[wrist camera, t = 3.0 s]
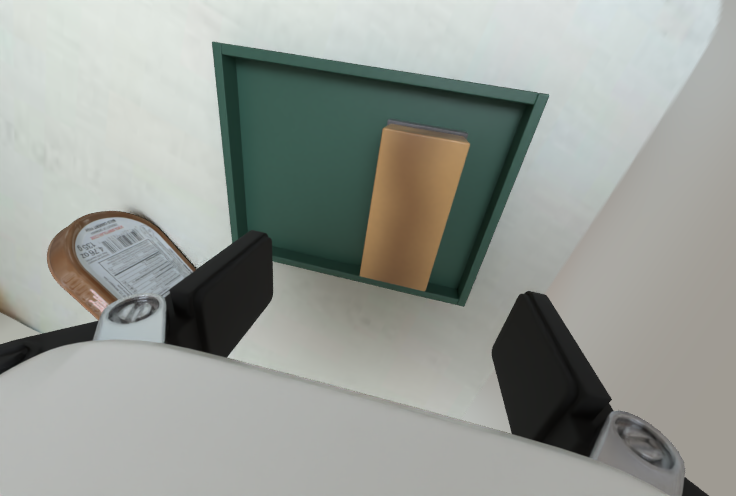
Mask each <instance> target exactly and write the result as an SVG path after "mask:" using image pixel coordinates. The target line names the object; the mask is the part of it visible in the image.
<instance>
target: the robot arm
mask: <svg viewBox="0 0 736 496" xmlns="http://www.w3.org/2000/svg"><path fill="white" fill-rule="evenodd" d="M169 291H170V294H168V295H167V296H166V297H164V298H163V297H162V296H161V295H158V294H155V293H139V294H134V295H129V296H126V297H124V298H121V299H118V300H117V301H115V302H113V303H111V304H110V305H109V306H107V307H106V308H105V309H104V310H103V312H102V314H101V315H100V318H99V321H95V322H91V323H87V324H82V325H78V326H74V327H69V328H65V329H61V330H56V331H52V332H48V333H43V334H40V335H35V336H30V337H26V338H22V339H18V340H14V341H10V342H7V343H4V344H0V496H709V495H707V494H706V493H705V492H703V491H702V490H701V489H699V488H698V487H697V486H696V485H694V484H693V483H692V482H690V481H689V480H688V479H687V478H685V477H684V475H685V467H684V461H683V459H682V458H681V456H680V454H679V452H678V451H677V449H676V448H675V447H674V445H673V444H672V443H671V442H670V441H669V440H668V439H667V438H666V437H665V436H664V435H663V434H662V433H661V432H660V431H659V430H657V429H656V428H654V427H653V426H652V425H651V424H649V423H648V422H646V421H645V420H643V419H641V418H639V417H638V416H635V415H633V414H630V413H628V412H623V411H613V409H612V408H611V406H610V404H609V402H610V401H611V400H612V399H611V397H610V396H609V394H608V393H607V391H606V389H605V388H604V386H603V385H602V383H601V382H600V380H599V378H598V377H597V375H596V373H595V372H594V370H593V369H592V367H591V365H590V364H589V362H588V361H587V359H586V358H585V356H584V354H583V353H582V351H581V349H580V348H579V346H578V345H577V343H576V341H575V340H574V338H573V337H572V335H571V333H570V332H569V330H568V329H567V327H566V326H565V324H564V322H563V321H562V319H561V317H560V316H559V314H558V313H557V311H556V309H555V308H554V306H553V305H552V303H551V301H550V300H549V298H548V297H547V296H546V295H544V294H540V293H535V292H531V291H527V292H526V293H525V294H520V295H519V296H518V298H517V300H516V302H515V304H514V306H513V308H512V310H511V312H510V314H509V316H508V318H507V320H506V322H505V324H504V326H503V327H502V329H501V331H500V333H499V335H498V337H497V339H496V341H495V343H494V345H493V348H492V359H493V362H494V366H495V370H496V374H497V378H498V382H499V386H500V389H501V393H502V397H503V401H504V405H505V409H506V413H507V416H508V420H509V424H510V428H511V432H512V434H510V433H507V432H503V431H500V430H496V429H492V428H489V427H485V426H481V425H477V424H474V423H470V422H467V421H463V420H459V419H456V418H452V417H448V416H445V415H441V414H437V413H434V412H430V411H426V410H423V409H419V408H415V407H412V406H408V405H404V404H401V403H397V402H393V401H389V400H386V399H382V398H378V397H375V396H371V395H367V394H363V393H360V392H356V391H352V390H348V389H345V388H341V387H337V386H333V385H330V384H326V383H322V382H318V381H315V380H311V379H307V378H303V377H299V376H295V375H292V374H288V373H284V372H280V371H276V370H272V369H269V368H265V367H261V366H257V365H253V364H250V363H246V362H242V361H238V360H234V359H230V358H227V357H228V355H229V354H230V353H231V352H232V350H233V349H234V348H235V346H236V345H237V344H238V343H239V341H240V340H241V339H242V337H243V336H244V335H245V334H246V332H247V331H248V330H249V329H250V327H251V326H252V325H253V323H254V322H255V321H256V320H257V318H258V317H259V316H260V314H261V313H262V312H263V311H264V309H265V308H266V307H267V306H268V304H269V303H270V301H271V300H272V297H273V262H272V239H271V238H269V237H268V234H267V233H264V232H259V231H255V230H250V231H249V232H247V233H246V234H245V235H243V236H242V237H241V238H239V239H238V240H236V241H235V242H234V243H232V244H231V245H230V246H228V247H227V248H225V249H224V250H223V251H221V252H220V253H219V254H217V255H216V256H214V257H213V258H212V259H210V260H209V261H208V262H206V263H205V264H203V265H202V266H201V267H199V268H198V269H197V270H195V271H194V272H192V273H191V274H190V275H188V276H187V277H185V278H184V279H183V280H181V281H180V282H179V283H177V284H176V285H174V286H173V287H172V288H170V289H169Z"/></svg>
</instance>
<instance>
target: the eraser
mask: <svg viewBox="0 0 736 496" xmlns="http://www.w3.org/2000/svg"><path fill="white" fill-rule="evenodd" d="M467 137H468V133H467V132H466V131H462V130H456V129H451V128H445V127H439V126H433V125H428V124H422V123H416V122H411V121H405V120H399V119H393V118H390V119H388V121H387V126H386V127H384V128H383V130H382V136H381V142H380V149H379V155H378V161H377V168H376V174H375V180H374V187H373V193H372V199H371V206H370V212H369V218H368V225H367V231H366V237H365V244H364V250H363V256H362V263H361V269H360V276H361V277H365V278H370V279H374V280H378V281H382V282H387V283H391V284H395V285H399V286H404V287H408V288H412V289H416V290H421V291H426V288H427V284H428V281H429V278H430V275H431V271H432V268H433V265H434V262H435V258H436V255H437V252H438V248H439V245H440V242H441V239H442V235H443V232H444V229H445V226H446V222H447V219H448V216H449V213H450V209H451V206H452V203H453V199H454V196H455V193H456V190H457V186H458V183H459V180H460V177H461V173H462V170H463V167H464V163H465V160H466V157H467V154H468V150H469V147H470V143H469V142H468V141H467Z"/></svg>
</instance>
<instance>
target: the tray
mask: <svg viewBox="0 0 736 496" xmlns="http://www.w3.org/2000/svg"><path fill="white" fill-rule="evenodd" d="M212 47H213V57H214V67H215V77H216V87H217V96H218V106H219V116H220V126H221V136H222V146H223V155H224V165H225V175H226V185H227V195H228V205H229V215H230V224H231V234H232V243H234V242H235V241H236V240H238V239H239V238H241V237H242V236H243V235H245V234H246V233H247V232H249V231H250V230H255V231H259V232H264V233H267V234H268V237H269V238H271V239H272V261H274V262H278V263H282V264H286V265H291V266H295V267H299V268H303V269H307V270H312V271H316V272H320V273H324V274H328V275H333V276H337V277H341V278H345V279H350V280H354V281H358V282H362V283H366V284H371V285H375V286H379V287H383V288H387V289H392V290H396V291H400V292H404V293H408V294H413V295H417V296H421V297H425V298H429V299H434V300H438V301H442V302H446V303H450V304H455V305H459V306H463V307H464V306H465V304H466V301H467V299H468V296H469V294H470V291H471V289H472V286H473V284H474V281H475V279H476V276H477V274H478V271H479V269H480V266H481V264H482V261H483V259H484V256H485V254H486V251H487V249H488V247H489V244H490V242H491V239H492V237H493V234H494V232H495V229H496V227H497V224H498V222H499V219H500V217H501V214H502V212H503V209H504V207H505V204H506V202H507V199H508V197H509V194H510V192H511V190H512V187H513V185H514V182H515V180H516V177H517V175H518V172H519V170H520V167H521V165H522V162H523V160H524V157H525V155H526V152H527V150H528V147H529V145H530V142H531V140H532V137H533V135H534V133H535V130H536V128H537V125H538V123H539V120H540V118H541V115H542V113H543V110H544V108H545V105H546V103H547V100H548V98H549V94H543V93H537V92H530V91H524V90H517V89H511V88H505V87H498V86H492V85H486V84H479V83H473V82H466V81H460V80H454V79H447V78H441V77H435V76H428V75H422V74H416V73H409V72H403V71H396V70H390V69H384V68H377V67H371V66H365V65H358V64H352V63H345V62H339V61H333V60H326V59H320V58H314V57H307V56H301V55H295V54H288V53H282V52H275V51H269V50H263V49H256V48H250V47H244V46H237V45H231V44H224V43H218V42H212ZM390 118H393V119H399V120H405V121H411V122H416V123H422V124H428V125H433V126H439V127H445V128H451V129H456V130H462V131H466V132H467V133H468V137H467V141H468V142H469V143H470V147H469V150H468V154H467V157H466V160H465V163H464V167H463V170H462V173H461V177H460V180H459V183H458V186H457V190H456V193H455V196H454V199H453V203H452V206H451V209H450V213H449V216H448V219H447V222H446V226H445V229H444V232H443V235H442V239H441V242H440V245H439V248H438V252H437V255H436V258H435V262H434V265H433V268H432V271H431V275H430V278H429V281H428V284H427V288H426V291H421V290H416V289H412V288H408V287H404V286H399V285H395V284H391V283H387V282H382V281H378V280H374V279H370V278H365V277H361V276H360V269H361V263H362V256H363V250H364V244H365V237H366V231H367V225H368V218H369V212H370V206H371V199H372V193H373V187H374V180H375V174H376V168H377V161H378V155H379V149H380V142H381V136H382V130H383V128H384V127H386V126H387V121H388V119H390Z"/></svg>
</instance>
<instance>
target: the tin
mask: <svg viewBox="0 0 736 496" xmlns="http://www.w3.org/2000/svg"><path fill="white" fill-rule="evenodd" d="M47 263H48V267H49V269H50V272H51V274H52V276H53V277H54V279H55V280H56V281H57V283H58V284H59V285H60V286H61V287H62V288H63V289H64V290H66V291H67V292H68V293H69V294H70V295H71V296H72V297H73V298H74V299H76V300H77V301H78V302H79V303H80V304H81V305H82V306H83V307H84V308H85V309H86V310H88V311H89V312H90V313H91V314H92V315H93V316H94V317H95V318H96V319H97V320H99V318H100V315H101V314H102V312H103V310H104V309H105V308H106V307H107V306H109V305H110V304H111V303H113V302H115V301H117V300H118V299H121V298H124V297H126V296H129V295H134V294H139V293H155V294H158V295H161V296H162V297H163V298H164V297H166V296H167V295H168V294H170V291H169V289H170V288H172V287H173V286H174V285H176V284H177V283H179V282H180V281H181V280H183V279H184V278H185V277H187V276H188V275H190V274H191V273H192V272H194V271H195V270H196V269H195V268H194V267H193V266H192V265H191V263H190V262H189V261H188V260H187V259H186V258H185V257H184V256H183V254H182V253H181V252H180V251H179V250H178V249H177V248H176V247H175V245H174V244H173V243H172V242H171V241H170V240H169V239H168V238H167V236H166V235H165V234H164V233H163V232H162V231H161V230H160V229H159V228H158V227H156V226H155V225H154V224H152V223H150V222H149V221H147V220H145V219H143V218H141V217H139V216H136V215H133V214H129V213H125V212H120V211H103V212H96V213H91V214H88V215H85V216H83V217H81V218H79V219H77V220H75V221H74V222H73V223H72V224H70V225H69V226H68V227H66V228H64V229H63V230H62V231H60V232H59V233H58V234H57V235H56V236H55V237H54V238H53V240H52V241H51V243H50V245H49V247H48V252H47Z"/></svg>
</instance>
